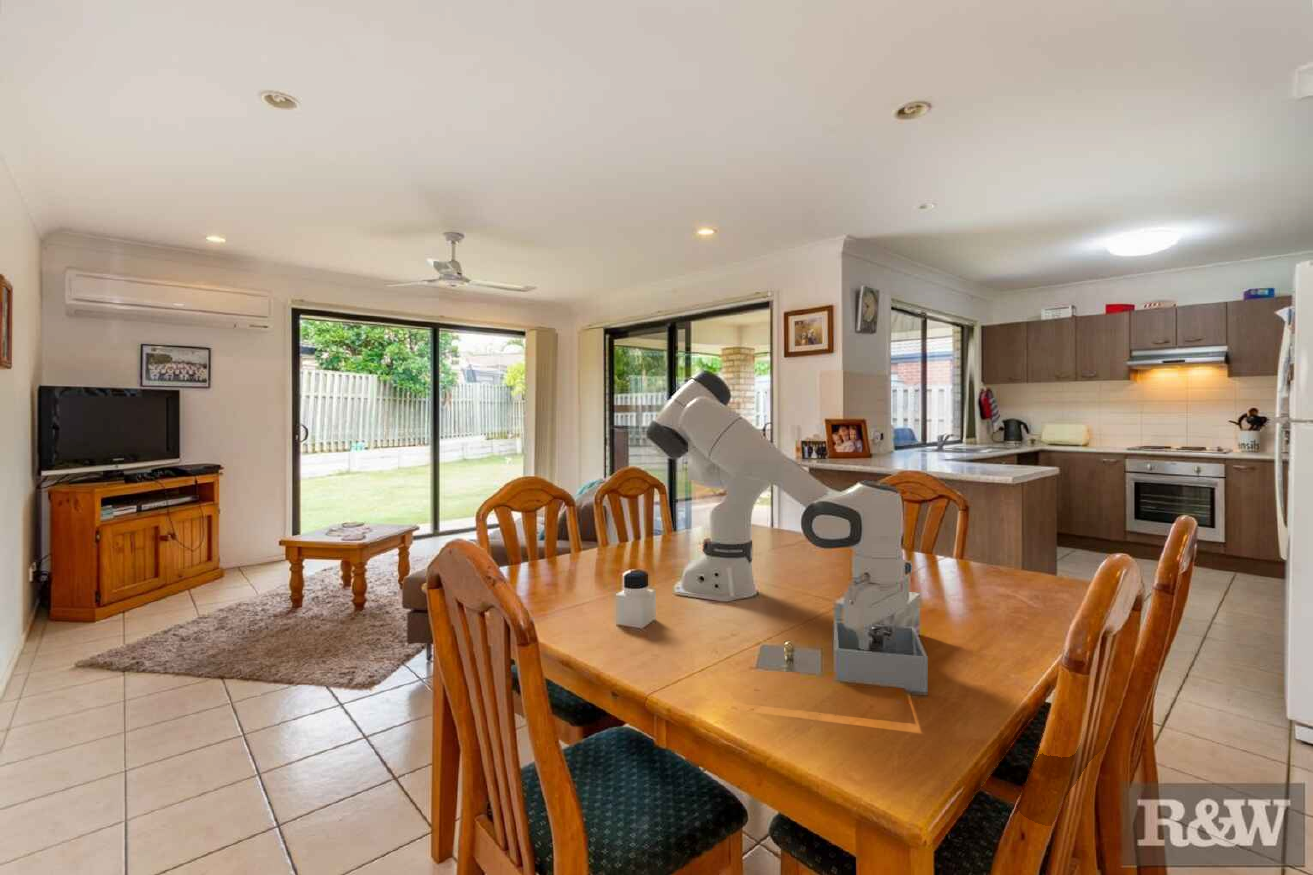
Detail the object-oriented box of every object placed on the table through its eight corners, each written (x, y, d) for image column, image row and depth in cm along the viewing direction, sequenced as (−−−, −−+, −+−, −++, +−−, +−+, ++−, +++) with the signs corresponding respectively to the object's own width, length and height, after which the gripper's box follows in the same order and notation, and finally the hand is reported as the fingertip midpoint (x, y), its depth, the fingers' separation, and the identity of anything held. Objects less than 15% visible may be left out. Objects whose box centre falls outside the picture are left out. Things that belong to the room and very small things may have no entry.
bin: (835, 685, 108) (835, 649, 108) (833, 653, 122) (833, 620, 122) (927, 695, 104) (927, 658, 104) (914, 660, 118) (914, 627, 118)
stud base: (755, 673, 113) (755, 650, 113) (761, 649, 125) (761, 628, 125) (821, 680, 110) (821, 656, 110) (821, 654, 122) (821, 633, 121)
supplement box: (861, 622, 141) (861, 582, 140) (920, 635, 132) (921, 593, 132) (832, 644, 127) (832, 600, 127) (896, 660, 119) (897, 613, 119)
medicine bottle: (655, 619, 143) (655, 569, 143) (642, 629, 137) (642, 577, 136) (629, 615, 146) (628, 566, 146) (615, 624, 140) (614, 573, 139)
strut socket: (883, 677, 110) (884, 634, 109) (857, 669, 113) (857, 627, 113) (894, 669, 113) (895, 627, 113) (869, 661, 117) (869, 620, 116)
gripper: (867, 583, 103) (866, 663, 103) (916, 561, 117) (915, 632, 118) (833, 576, 107) (833, 652, 108) (884, 556, 122) (884, 624, 122)
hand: (876, 641), depth 113 cm, fingers open, 8 cm apart
